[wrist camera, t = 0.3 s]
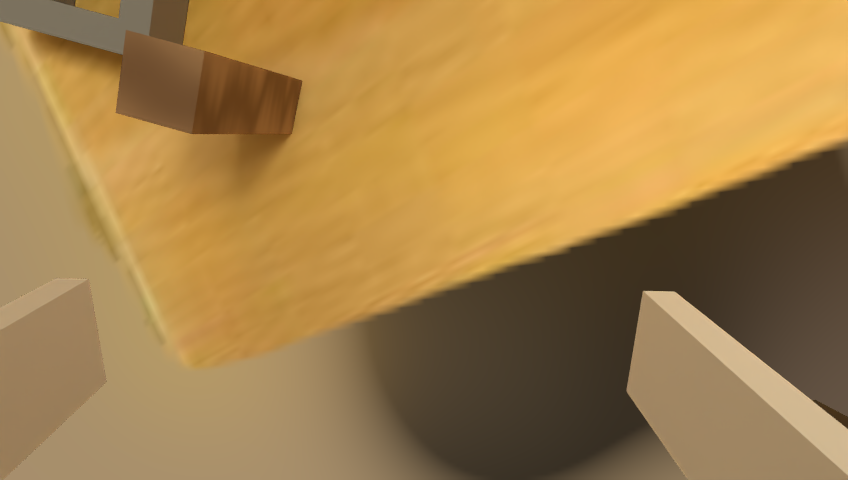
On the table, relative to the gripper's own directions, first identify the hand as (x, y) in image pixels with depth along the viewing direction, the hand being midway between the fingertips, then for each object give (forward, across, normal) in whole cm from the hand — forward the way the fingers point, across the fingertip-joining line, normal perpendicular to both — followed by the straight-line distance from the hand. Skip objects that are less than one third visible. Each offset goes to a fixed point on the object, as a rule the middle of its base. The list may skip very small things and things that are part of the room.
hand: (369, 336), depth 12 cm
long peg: (+29, -10, +4) cm, 31 cm away
